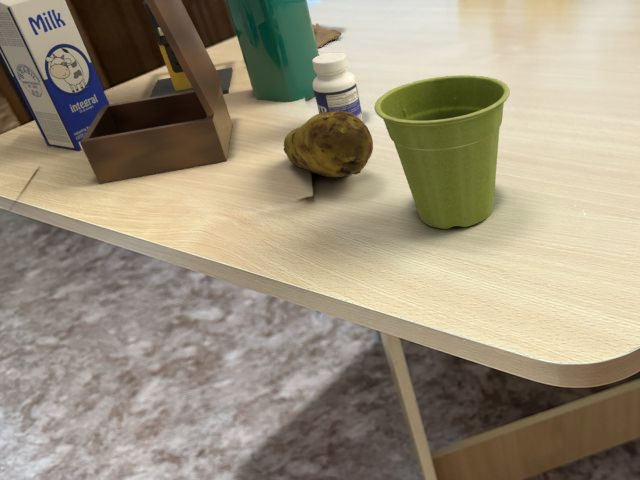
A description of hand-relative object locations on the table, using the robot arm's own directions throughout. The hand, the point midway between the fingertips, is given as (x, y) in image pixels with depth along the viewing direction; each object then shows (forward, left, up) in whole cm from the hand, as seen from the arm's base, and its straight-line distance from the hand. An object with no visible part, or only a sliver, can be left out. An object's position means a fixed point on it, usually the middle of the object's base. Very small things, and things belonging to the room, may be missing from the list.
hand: (184, 64), depth 106 cm
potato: (+20, -44, -4) cm, 48 cm away
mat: (0, 0, -4) cm, 4 cm away
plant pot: (+31, -57, -4) cm, 65 cm away
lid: (+6, -29, +10) cm, 31 cm away
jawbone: (+15, +14, -4) cm, 21 cm away
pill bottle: (+22, -30, -4) cm, 37 cm away
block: (0, 0, -3) cm, 3 cm away
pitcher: (+15, -12, -4) cm, 20 cm away
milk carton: (-12, -18, -4) cm, 22 cm away
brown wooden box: (0, -29, -4) cm, 29 cm away
